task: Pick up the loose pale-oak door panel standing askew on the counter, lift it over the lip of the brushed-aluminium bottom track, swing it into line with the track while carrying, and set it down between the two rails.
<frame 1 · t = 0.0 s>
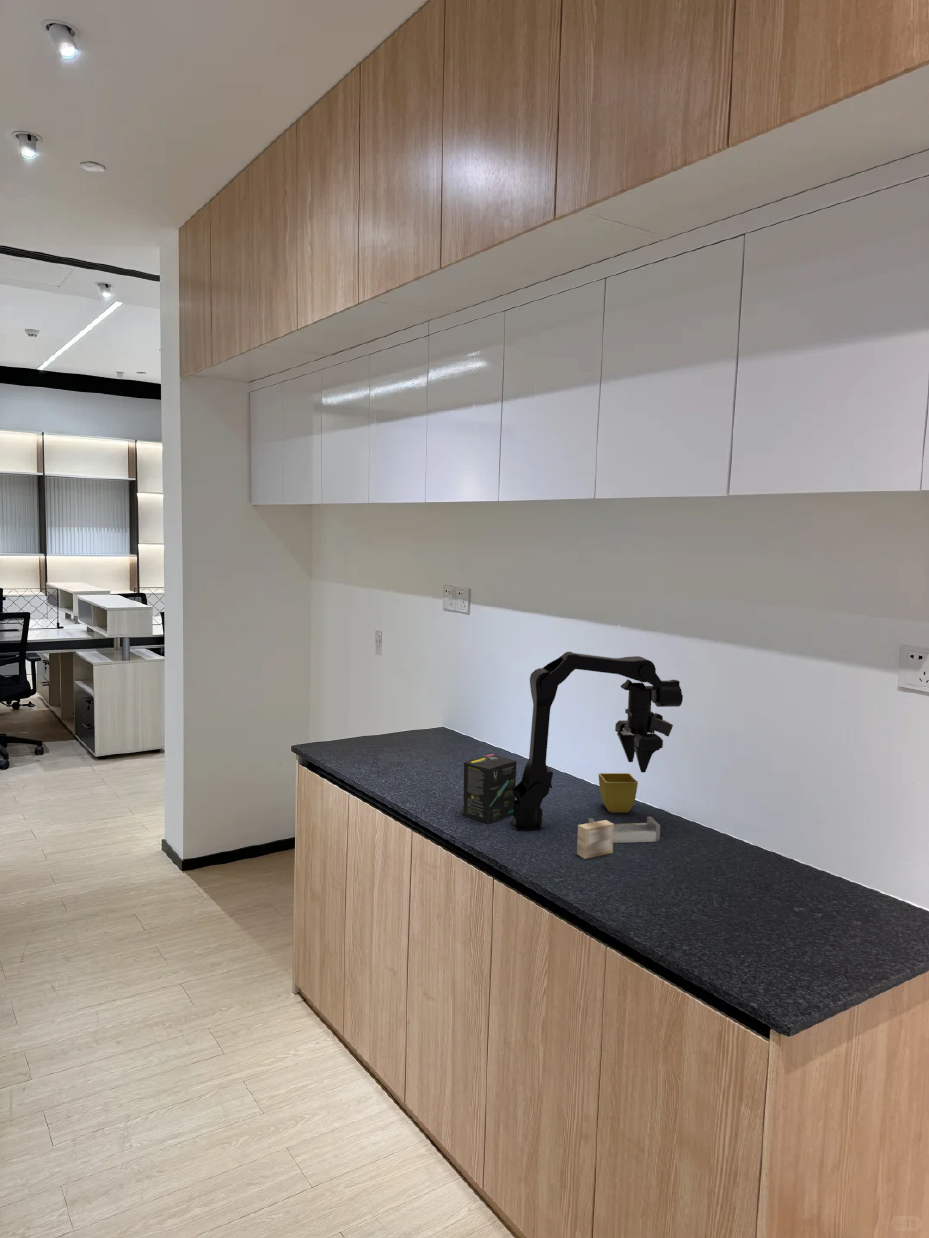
hand: (636, 766, 212), 15 cm above the worktop, fingers open, 9 cm apart
door panel: (594, 853, 192), on the worktop
bottom track: (623, 837, 203), on the worktop
tampon box: (488, 815, 217), on the worktop
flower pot: (616, 810, 223), on the worktop
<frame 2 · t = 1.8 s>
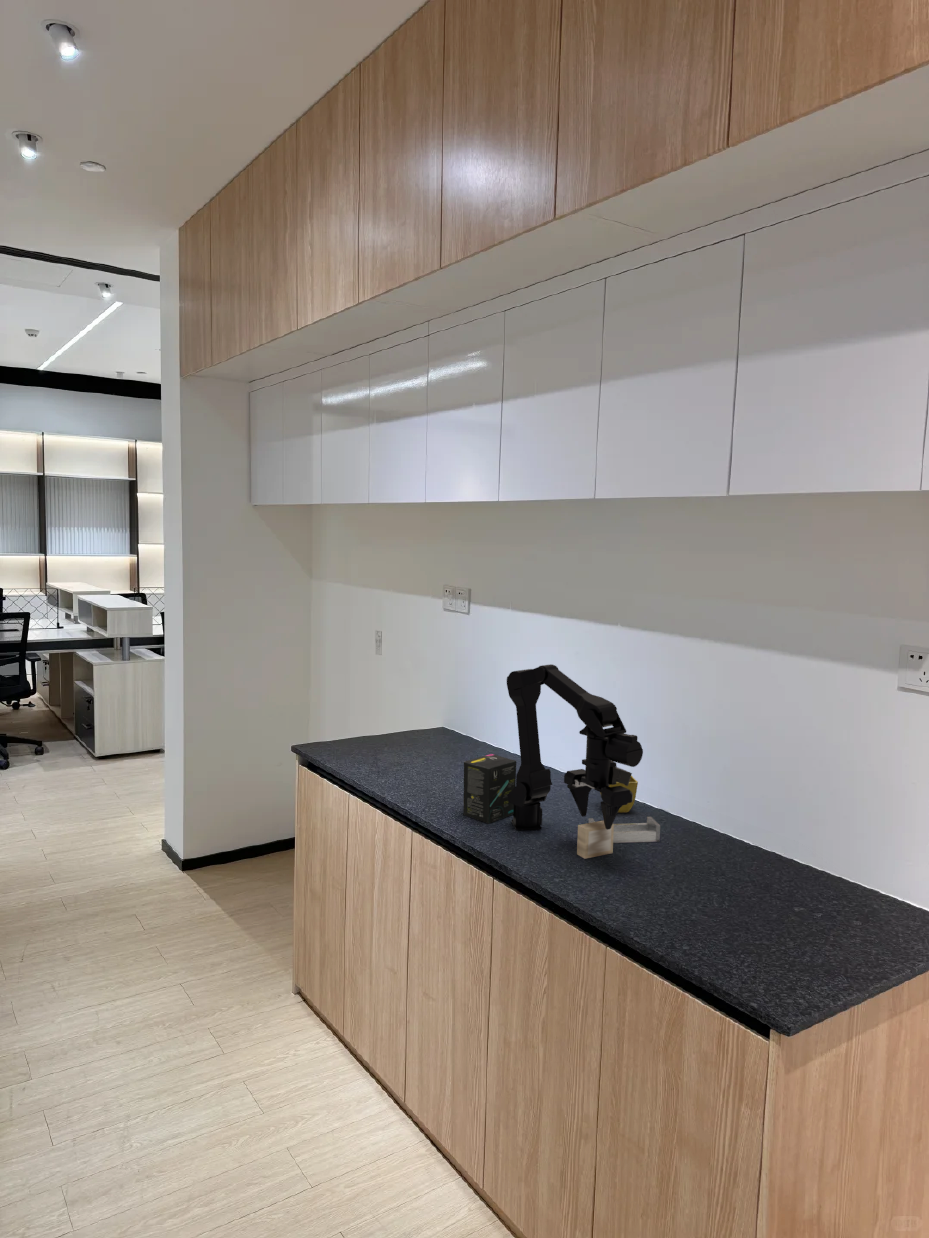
hand: (595, 822, 192), 7 cm above the worktop, fingers open, 9 cm apart
nothing on the worktop moved.
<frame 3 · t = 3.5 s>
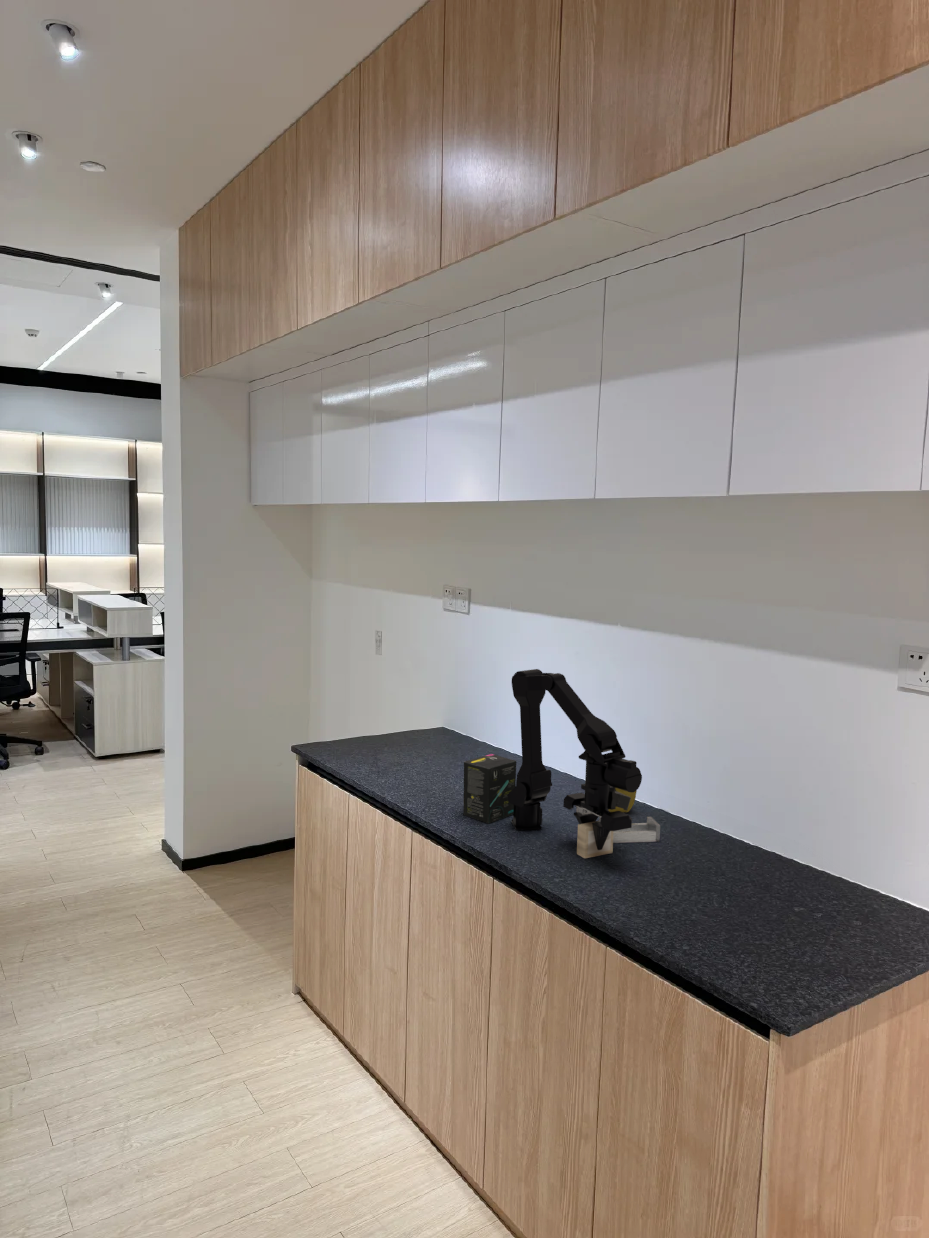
hand: (595, 846, 192), 2 cm above the worktop, fingers closed on door panel, 3 cm apart
door panel: (594, 853, 192), on the worktop, touching gripper
everything else where it was.
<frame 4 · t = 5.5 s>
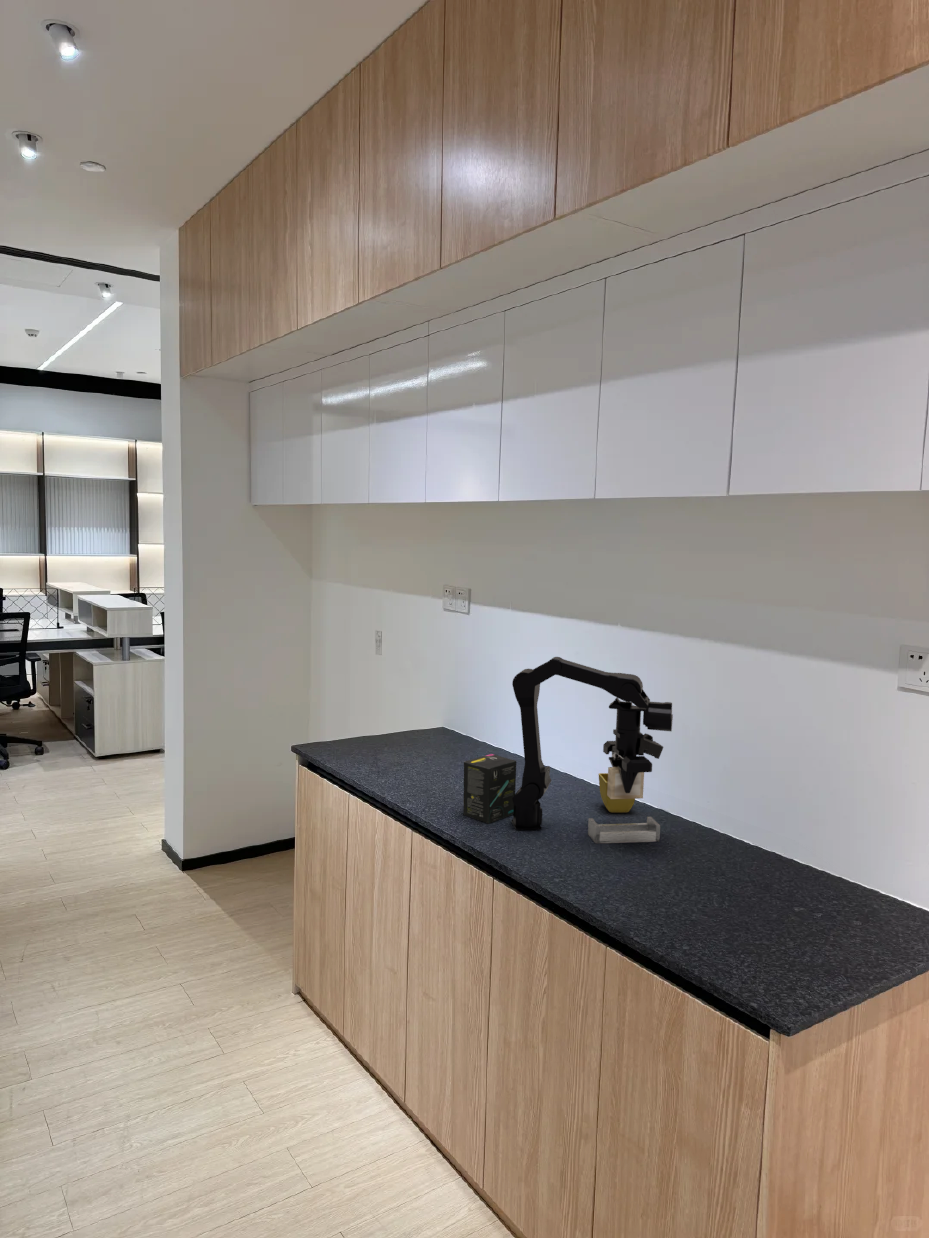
hand: (625, 790, 201), 12 cm above the worktop, fingers closed on door panel, 3 cm apart
door panel: (624, 796, 202), point 10 cm above the worktop, touching gripper
everything else where it was.
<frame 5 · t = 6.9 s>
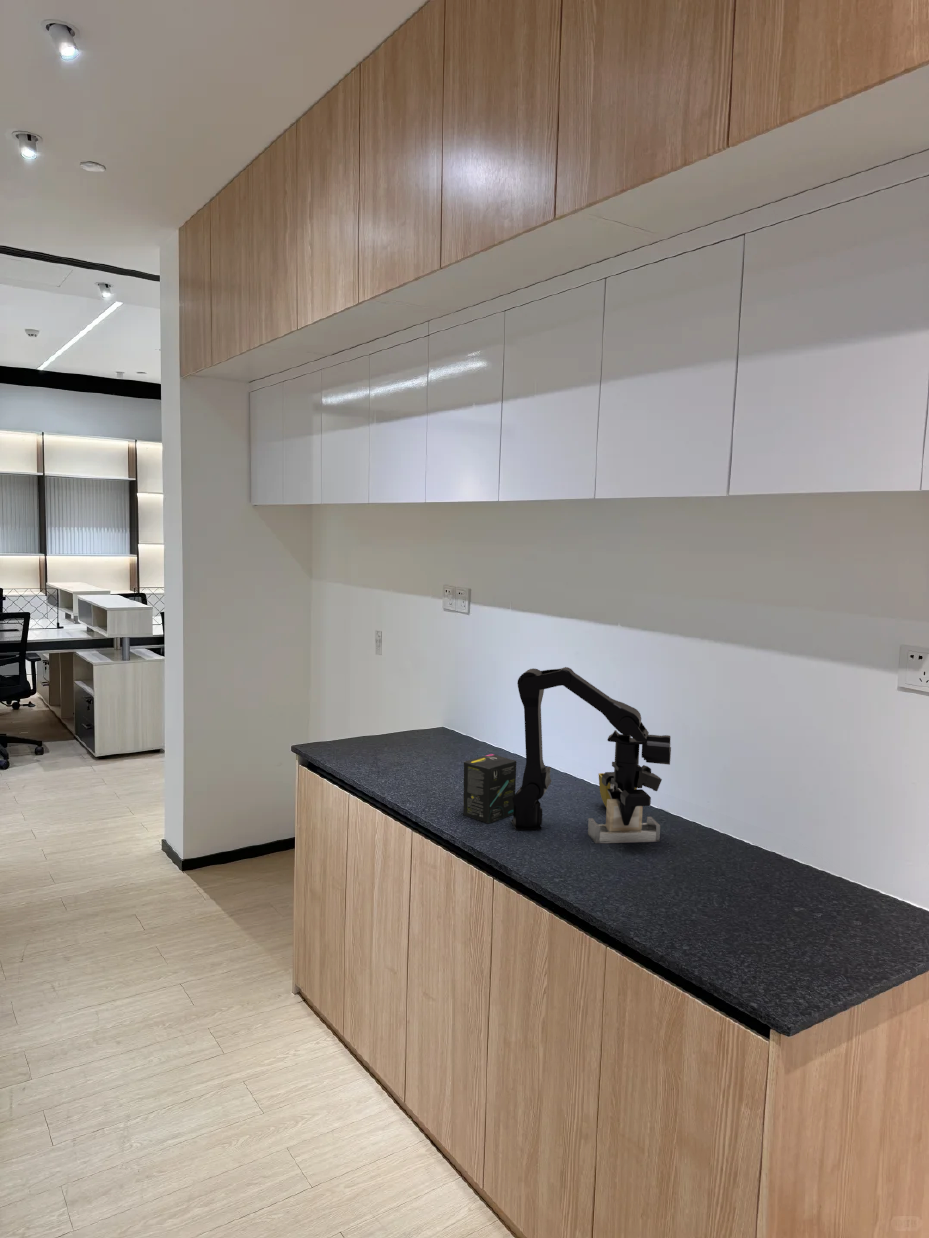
hand: (623, 822, 202), 4 cm above the worktop, fingers closed on door panel, 3 cm apart
door panel: (623, 828, 203), point 2 cm above the worktop, touching gripper
everything else where it was.
when the fingers open (3 cm above the worktop, at t = 7.6 s): door panel drops 1 cm, resting on bottom track.
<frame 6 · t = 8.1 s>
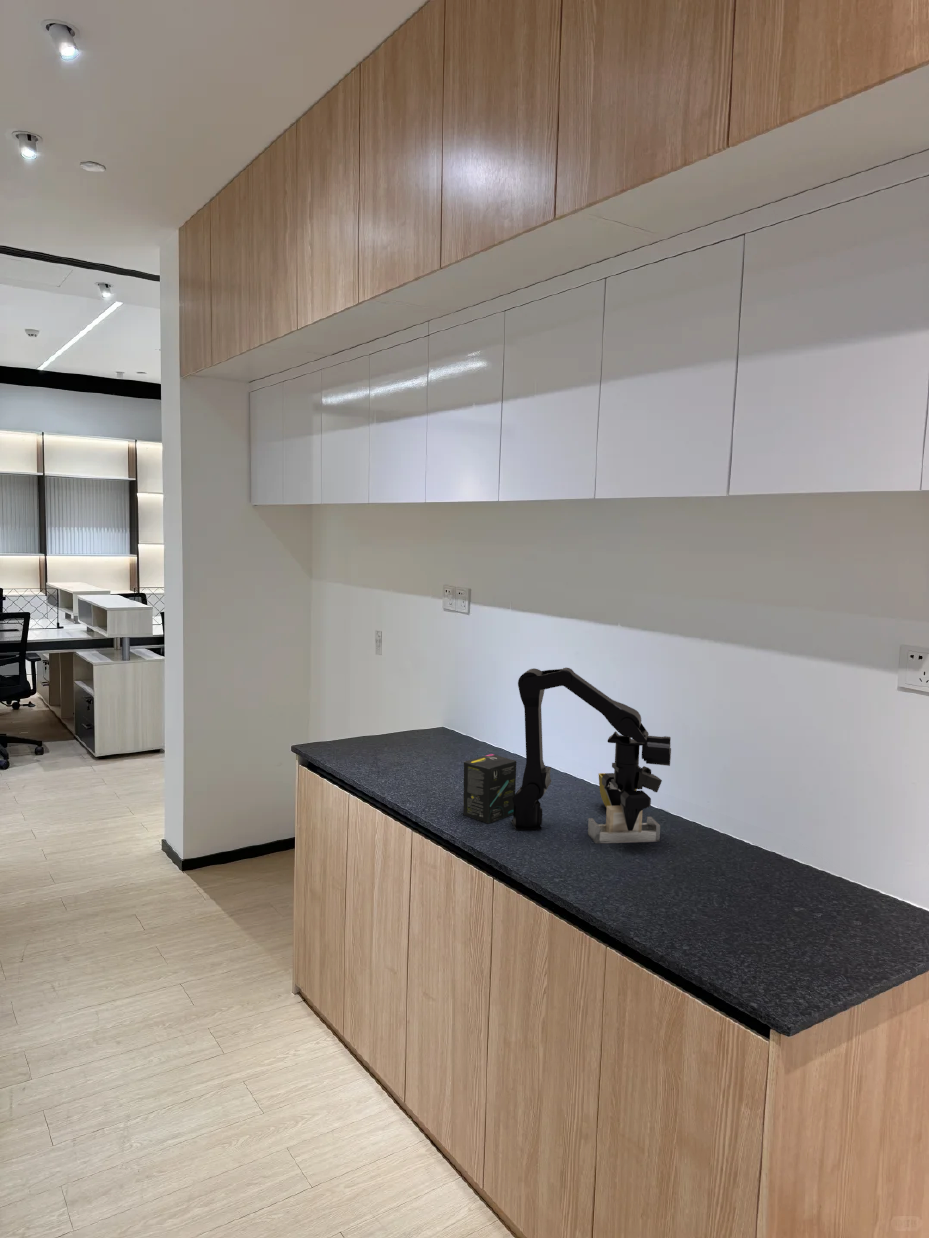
hand: (623, 823, 202), 3 cm above the worktop, fingers open, 9 cm apart
door panel: (623, 835, 203), point 1 cm above the worktop, touching bottom track
everything else where it was.
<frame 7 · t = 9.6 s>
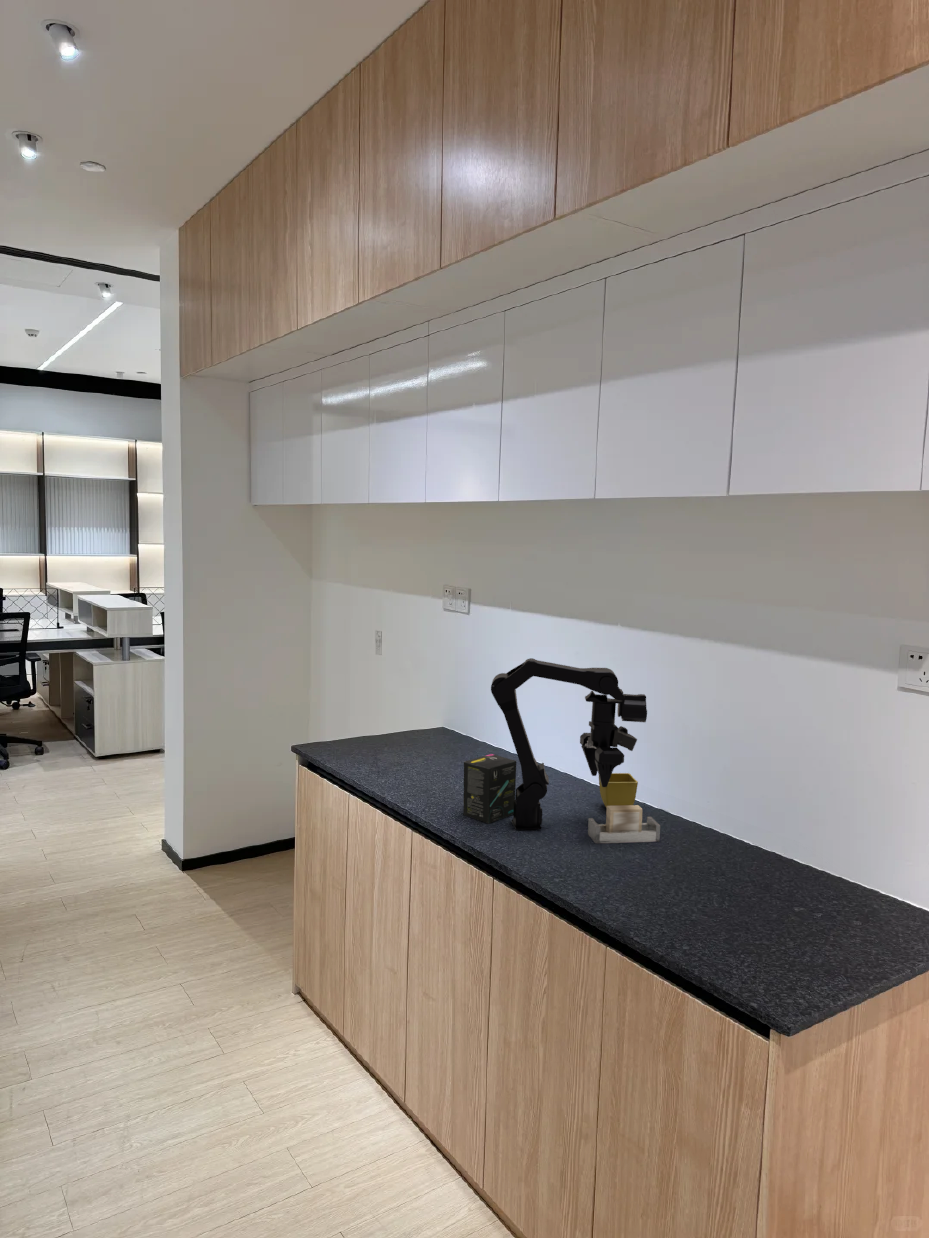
hand: (599, 781, 207), 12 cm above the worktop, fingers open, 9 cm apart
nothing on the worktop moved.
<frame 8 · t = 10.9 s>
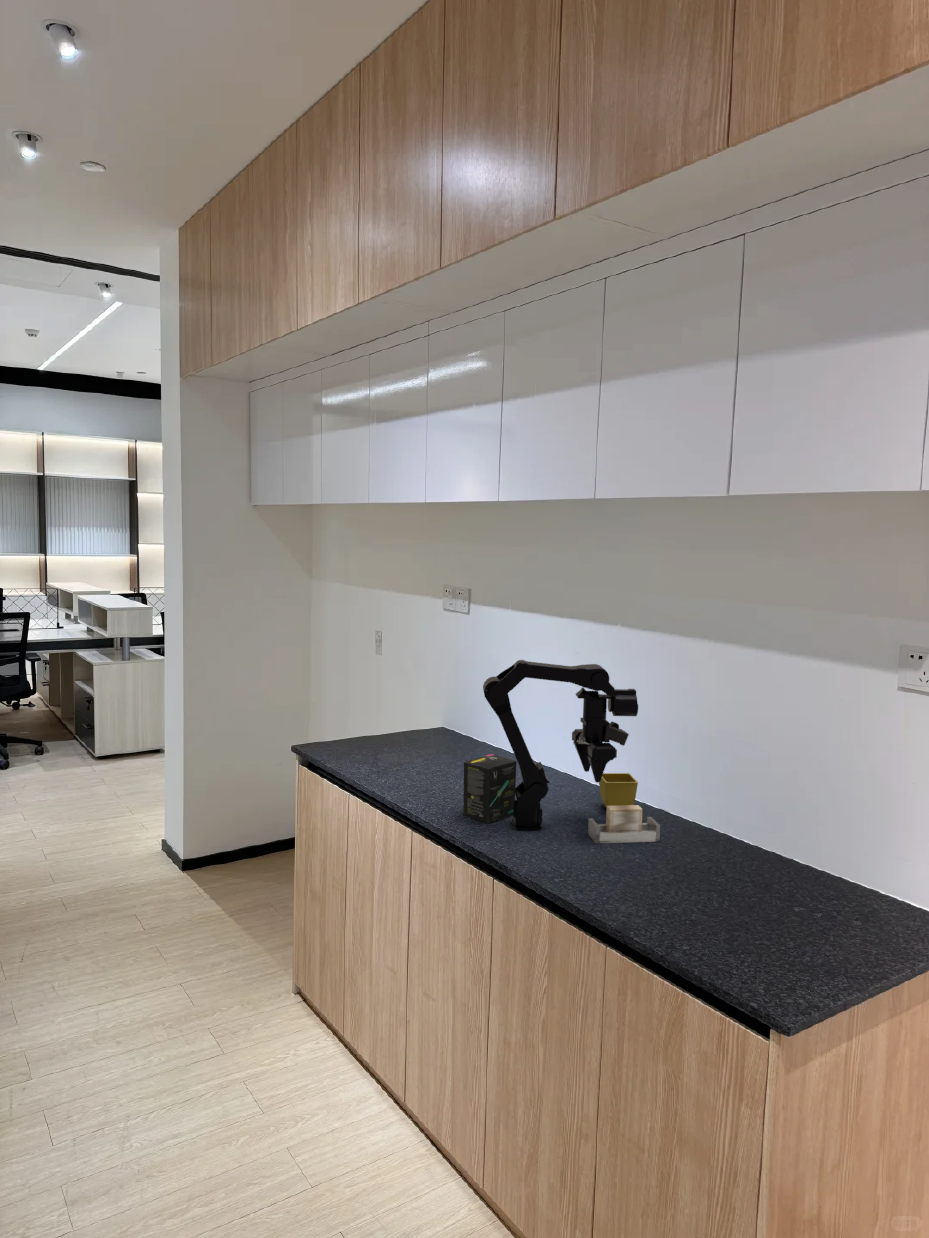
hand: (592, 776, 208), 13 cm above the worktop, fingers open, 9 cm apart
nothing on the worktop moved.
at the end: door panel 0.1 cm off-centre on the bottom track, point 0.6 cm above the bottom track's base; door panel tilted 0°; the gripper is holding nothing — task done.
